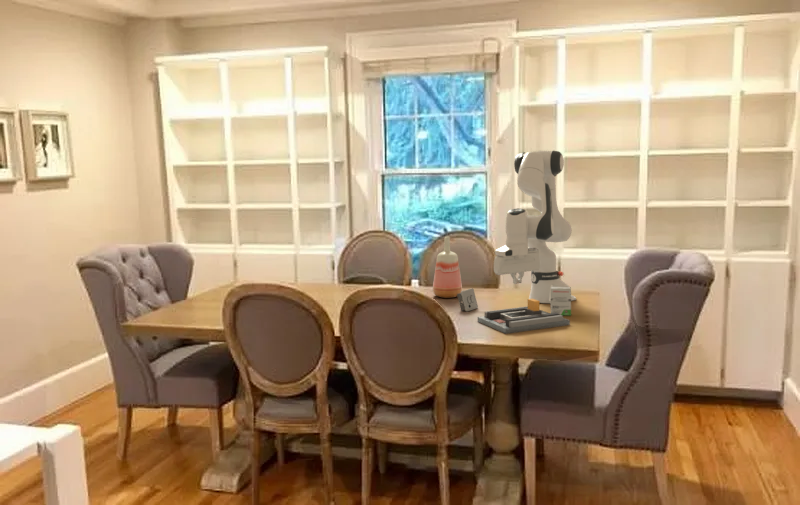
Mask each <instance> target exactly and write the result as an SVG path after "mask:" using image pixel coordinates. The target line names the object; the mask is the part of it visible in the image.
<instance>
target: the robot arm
mask: <svg viewBox="0 0 800 505" xmlns="http://www.w3.org/2000/svg"><path fill="white" fill-rule="evenodd" d="M563 156H564V155H563V154H562V152H560V151H559V150H538V151H537V150H536V151H529V152H528V151H527V152H524V151H523V152H521V153H518V154H517V155H515V157H514V160H513V168H514V171H515V173H516V175H517V179H516V180H517V182H516V183H517V186H518V188H519V190H520V191H521V192H522V193H524V194H525V195H527V196H530V197H531V205H532V208H534V210H535V211H538V212H539V213H540V214H538V215H535V214H534V215H533V214H530V215H529V214H528V215H527V211H526V210H525V209H523V208H513V209H509V210H508V211H507V212H506V218H505V219H506V220H505V235H506V241H505V244H504V245H503V246H501V247H498V248H497V249H495V250H494V255H496V256H495V257H494V258H493V259H494V260H493V273H494V274H495V275H498V276H503V275H510V277H511V278H512V281H513V282H512V283H513V284H514V285H515V284H522V282H523V281H522V280H523V278H524V276H525V272H531V274H530V278H531V279H530V280H531V286H530V292H529V296H528V299H535V300H538V301H539V304H540V303H541V304H551V287H570V285H568V283H566V282H565V281H563V280H562V279H561V278H560V277H563V276H564V272H563V271H561V270H559V271H558V270H557V254H556V253H555V252H554V251H553V250H552V249H550V248H549V247H548V246H547V243H562V242H567V241H569V239H570V238H571V235H572V225H571V224H570V222H569V221H568V220H567V219H565V218H564V216H563V215H562V213H561V211H560V210H559V208H558V203H557V188H556V186H557V184H556V176H557V175H559V174H560V173H561V172H562V171H563V168H564V166H565V159H564V157H563ZM517 274H518V277H517ZM576 300H577V297H576V296H574V295H572V294H571V302H572V301H576Z"/></svg>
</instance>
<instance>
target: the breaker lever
mask: <svg viewBox="0 0 800 505" xmlns="http://www.w3.org/2000/svg"><path fill="white" fill-rule="evenodd" d="M527 306H528V308H526V309H525V316H527V315H535V314H542V311H543V310H541V309H540V303H539V301H538V300H535V299H529V298H528V299H527Z"/></svg>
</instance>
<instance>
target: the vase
mask: <svg viewBox="0 0 800 505" xmlns="http://www.w3.org/2000/svg"><path fill="white" fill-rule="evenodd" d="M443 242H444V243H443V244H444V245H443V251H441V252H439V253H438V254H437V255H436V261H435V268H434V276H433V283H432V292H433V294H434V295H435V296H436V297H439V298H443V299H449V298H450V299H451V298H456V297H457V298H458V296H457V294H459V293H461V291H463V286H462V285H463V284H462V277H461V270H460V265H459V264H460V263H459V256H458V254H457V253H456V252H454V251H451V237H450V236H444V239H443Z"/></svg>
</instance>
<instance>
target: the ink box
mask: <svg viewBox="0 0 800 505" xmlns="http://www.w3.org/2000/svg"><path fill="white" fill-rule="evenodd" d="M571 295H572V288H571V286H569V287H551V303H550V313H559V314H560V315H562V316H572V301H571Z"/></svg>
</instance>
